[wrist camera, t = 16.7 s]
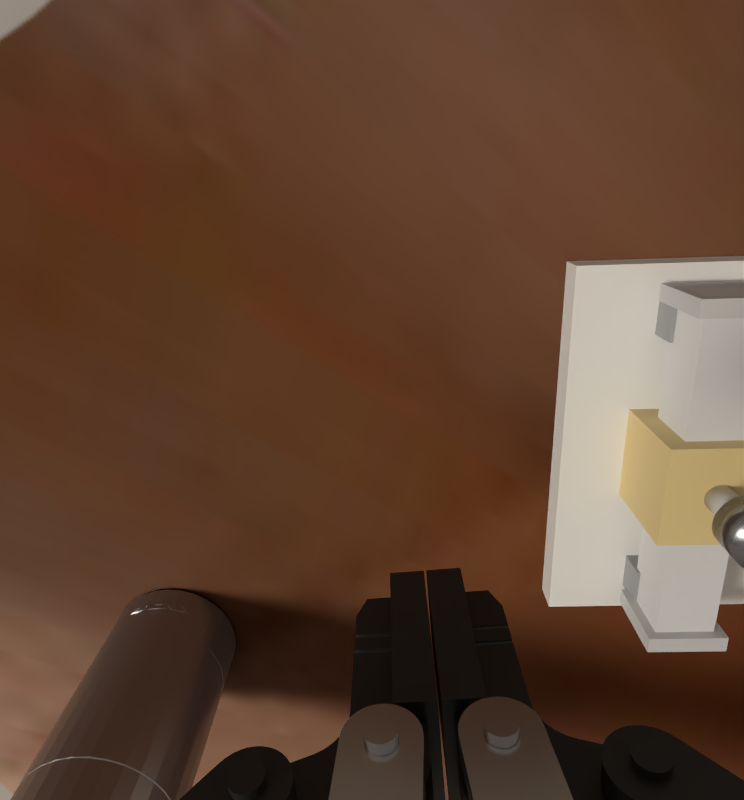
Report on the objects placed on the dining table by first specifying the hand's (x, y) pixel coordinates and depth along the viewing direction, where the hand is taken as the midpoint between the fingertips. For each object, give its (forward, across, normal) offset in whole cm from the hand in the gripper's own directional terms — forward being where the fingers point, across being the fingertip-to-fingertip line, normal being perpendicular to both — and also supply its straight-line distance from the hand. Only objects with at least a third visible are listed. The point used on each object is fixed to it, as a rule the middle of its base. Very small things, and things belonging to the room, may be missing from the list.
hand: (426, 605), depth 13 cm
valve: (+28, -17, +9) cm, 33 cm away
